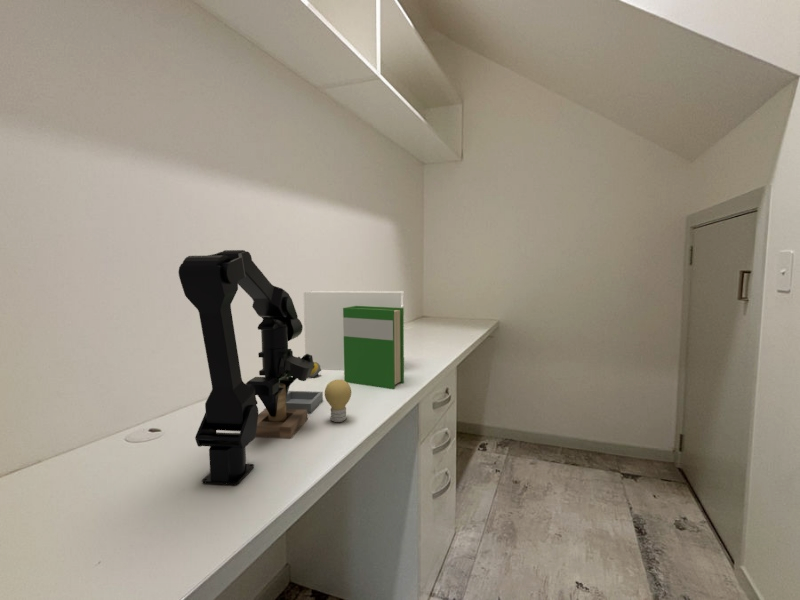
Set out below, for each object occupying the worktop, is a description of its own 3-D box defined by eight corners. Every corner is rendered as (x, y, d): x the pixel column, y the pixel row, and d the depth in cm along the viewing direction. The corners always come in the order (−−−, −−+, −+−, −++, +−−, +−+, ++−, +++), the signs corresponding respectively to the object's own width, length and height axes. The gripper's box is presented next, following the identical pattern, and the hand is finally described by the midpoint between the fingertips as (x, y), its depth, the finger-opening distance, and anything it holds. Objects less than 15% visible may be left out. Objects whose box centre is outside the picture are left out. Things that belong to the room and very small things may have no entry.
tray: (311, 413, 101) (310, 403, 100) (275, 412, 102) (274, 402, 101) (322, 400, 110) (322, 391, 110) (289, 399, 111) (289, 390, 111)
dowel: (282, 431, 90) (281, 388, 89) (265, 430, 90) (264, 388, 89) (289, 424, 94) (288, 383, 93) (273, 423, 94) (271, 382, 93)
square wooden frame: (290, 438, 86) (290, 427, 86) (245, 436, 87) (244, 425, 87) (307, 419, 97) (307, 409, 96) (266, 418, 98) (266, 408, 98)
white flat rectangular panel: (305, 369, 144) (303, 292, 141) (314, 363, 152) (312, 290, 149) (400, 372, 138) (400, 292, 135) (404, 366, 146) (403, 291, 143)
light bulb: (350, 425, 93) (350, 383, 92) (323, 426, 93) (322, 384, 92) (352, 415, 99) (352, 376, 98) (327, 415, 99) (326, 376, 98)
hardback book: (403, 382, 126) (403, 308, 124) (393, 389, 120) (392, 310, 117) (356, 376, 134) (355, 305, 132) (344, 382, 127) (343, 308, 125)
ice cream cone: (325, 378, 134) (307, 362, 127) (311, 383, 135) (293, 368, 128) (325, 365, 138) (308, 349, 131) (312, 371, 139) (294, 356, 132)
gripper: (293, 356, 80) (295, 431, 82) (321, 339, 99) (323, 400, 100) (241, 355, 81) (244, 429, 83) (279, 338, 100) (281, 398, 101)
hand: (277, 412), depth 92 cm, fingers closed on dowel, 4 cm apart
